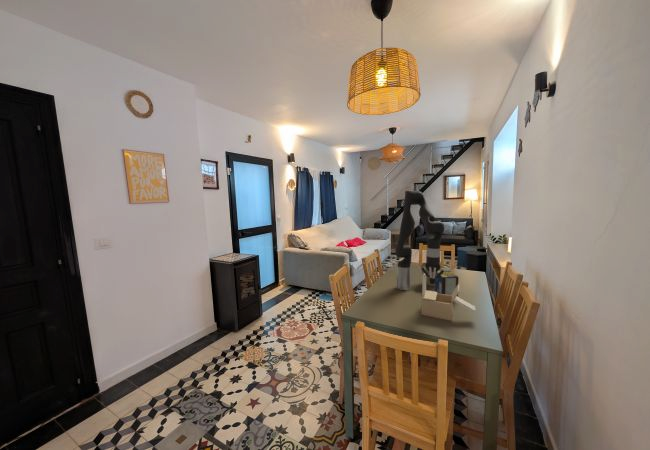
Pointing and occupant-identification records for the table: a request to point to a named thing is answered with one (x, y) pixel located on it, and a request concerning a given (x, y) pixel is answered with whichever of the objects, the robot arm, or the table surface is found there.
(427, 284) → the plant pot
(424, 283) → the flap left
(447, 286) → the protein box
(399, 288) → the robot arm
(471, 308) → the flap right
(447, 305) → the carton
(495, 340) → the table surface
